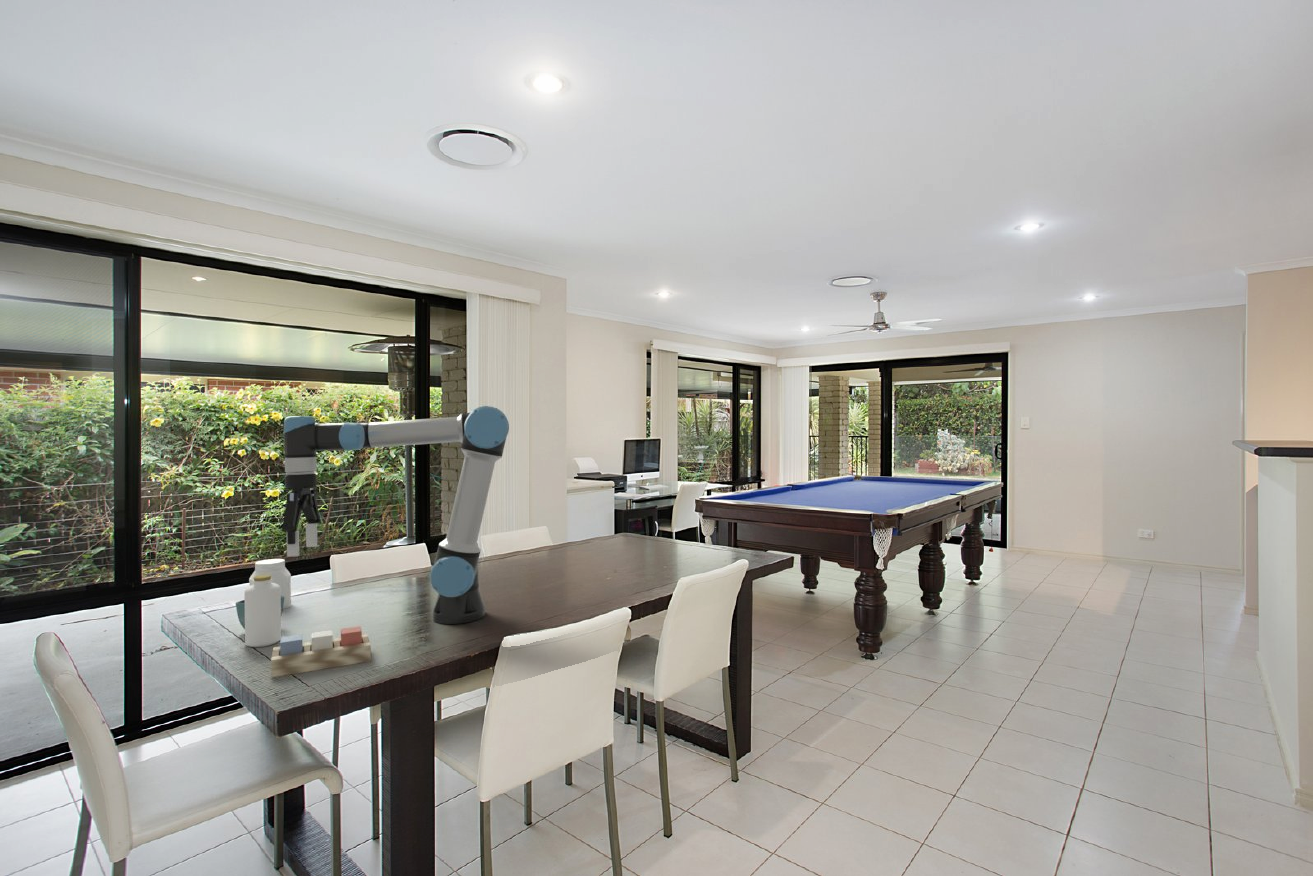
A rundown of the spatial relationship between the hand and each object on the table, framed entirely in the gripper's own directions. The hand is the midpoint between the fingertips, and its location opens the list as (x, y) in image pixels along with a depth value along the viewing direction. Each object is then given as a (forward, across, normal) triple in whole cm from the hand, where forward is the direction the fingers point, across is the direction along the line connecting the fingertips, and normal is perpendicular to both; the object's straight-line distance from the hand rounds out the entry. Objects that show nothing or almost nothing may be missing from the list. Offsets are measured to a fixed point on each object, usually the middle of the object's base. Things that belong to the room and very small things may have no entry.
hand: (302, 551), depth 171 cm
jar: (+24, -38, -23) cm, 50 cm away
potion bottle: (+24, 0, -10) cm, 27 cm away
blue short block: (+22, +21, +4) cm, 31 cm away
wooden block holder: (+24, +18, +10) cm, 32 cm away
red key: (+22, +16, +16) cm, 32 cm away
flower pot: (+24, -13, -16) cm, 32 cm away
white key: (+22, +18, +10) cm, 31 cm away
